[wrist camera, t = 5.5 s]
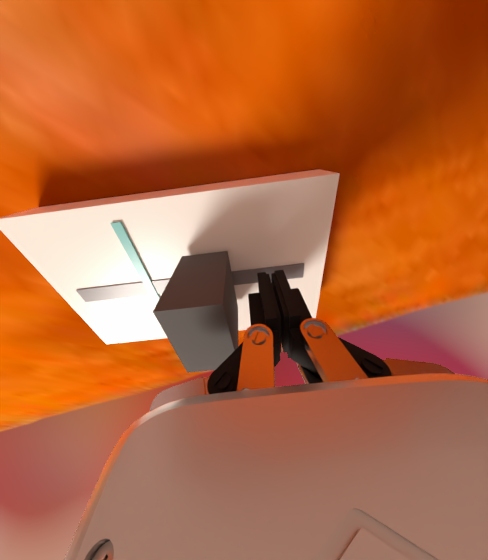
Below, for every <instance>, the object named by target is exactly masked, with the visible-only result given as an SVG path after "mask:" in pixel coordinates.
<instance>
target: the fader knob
mask: <svg viewBox="0 0 488 560" xmlns="http://www.w3.org/2000/svg"><path fill="white" fill-rule="evenodd" d="M153 313H154V315H155V317H156V318H157V320H158V322H159V324H160V325H161V327H162V329H163V331H164V332H165V334H166V336H167V338H168V339H169V341H170V343H171V344H172V346H173V348H174V350H175V351H176V353H177V355H178V357H179V358H180V360H181V362H182V364H183V365H184V367H185V369H186V370H187V372H198V371H208V370H216V369H217V368H218V367H219V366H220V365H221V364H222V363H223V362H224V361H225V360H226V359H227V358H228V357H229V356H230V355H231V354H232V353H233V352H234V351H235V350H236V349H237V348H238V304H237V299H236V293H235V288H234V283H233V277H232V272H231V266H230V261H229V256H228V251H222V252H213V253H205V254H197V255H189V256H182V257H181V259H180V261H179V263H178V265H177V267H176V268H175V270H174V272H173V274H172V276H171V278H170V280H169V282H168V284H167V286H166V288H165V289H164V291H163V293H162V295H161V297H160V299H159V301H158V303H157V305H156V307H155V308H154V310H153Z"/></svg>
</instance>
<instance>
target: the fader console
mask: <svg viewBox="0 0 488 560" xmlns="http://www.w3.org/2000/svg"><path fill="white" fill-rule="evenodd" d="M339 175H340V173H336V172H331V171H326V170H321V169H316V170H309V171H302V172H294V173H287V174H279V175H272V176H265V177H257V178H250V179H243V180H235V181H228V182H220V183H213V184H206V185H198V186H191V187H184V188H176V189H169V190H162V191H154V192H147V193H139V194H132V195H125V196H117V197H110V198H103V199H95V200H88V201H80V202H73V203H66V204H58V205H51V206H44V207H37V208H33V209H30V210H26V211H22V212H19V213H15V214H12V215H8V216H4V217H1V218H0V230H1V231H2V232H3V233H4V234H5V235H6V236H7V237H8V239H9V240H10V241H11V242H12V243H13V244H14V245H15V246H16V247H17V248H18V249H19V250H20V252H21V253H22V254H23V255H24V256H25V257H26V258H27V259H28V260H29V261H30V262H31V263H32V265H33V266H34V267H35V268H36V269H37V270H38V271H39V272H40V273H41V274H42V275H43V276H44V278H45V279H46V280H47V281H48V282H49V283H50V284H51V285H52V286H53V287H54V288H55V289H56V291H57V292H58V293H59V294H60V295H61V296H62V297H63V298H64V299H65V300H66V301H67V302H68V303H69V305H70V306H71V307H72V308H73V309H74V310H75V311H76V312H77V313H78V314H79V315H80V316H81V318H82V319H83V320H84V321H85V322H86V323H87V324H88V325H89V326H90V327H91V328H92V329H93V331H94V332H95V333H96V334H97V335H98V336H99V337H100V338H101V339H102V340H103V341H104V342H105V344H114V343H124V342H133V341H143V340H153V339H162V338H167V336H166V334H165V332H164V331H163V329H162V327H161V325H160V324H159V322H158V320H157V318H156V317H155V315H154V313H153V310H154V308H155V307H156V305H157V303H158V301H159V299H160V297H161V295H162V293H163V291H164V289H165V288H166V286H167V284H168V282H169V280H170V278H171V276H172V274H173V272H174V270H175V268H176V267H177V265H178V263H179V261H180V259H181V257H182V256H189V255H197V254H205V253H213V252H222V251H228V256H229V261H230V266H231V272H232V277H233V283H234V288H235V293H236V299H237V304H238V331H239V330H247V328H249V327H250V326H251V322H250V311H249V299H248V294H250V293H259V288H258V277H257V273H259V272H266V274H269V275H270V279H271V273H274V271H276V270H283V271H284V273H285V275H286V278H287V280H288V283H289V285H290V288H291V289H293V288H298V289H299V290H300V292H301V295H302V297H303V299H304V301H305V303H306V305H307V307H308V310H309V312H310V314H311V316H312V318H316V312H317V306H318V300H319V294H320V288H321V282H322V276H323V270H324V264H325V259H326V253H327V247H328V241H329V235H330V229H331V223H332V217H333V211H334V205H335V199H336V193H337V187H338V181H339ZM271 282H272V280H271Z"/></svg>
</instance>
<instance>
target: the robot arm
mask: <svg viewBox="0 0 488 560" xmlns="http://www.w3.org/2000/svg"><path fill="white" fill-rule="evenodd" d="M257 277H258V288H259V293H250V294H248V299H249V311H250V322H251V326H250V327H249V328H247V330H246V331H245V334H244V340H243V343H242V344H241V345H240V346H239V347H238V348H237V349H236V350H235V351H234V352H233V353H232V354H231V355H230V356H229V357H228V358H227V359H226V360H225V361H224V362H223V363H222V364H221V365H220V366H219V367H218V368H217V369H216V370H215V371H214V372H213V373H212V374H211V376H209V377H207V378H204V377H200V378H198V379H195V380H192V381H189V382H186V383H183V384H180V385H177V386H174V387H171V388H169V389H166V390H164V391H162V392H160V393H159V394H158V395H157V396H156V397H155V398H154V400H153V402H152V404H151V407H150V412H148V413H147V414H145V415H143V416H142V417H141V418H139V419H138V420H136V421H135V422H134V423H133V424H132V425H131V426H129V427H128V429H127V430H126V431H125V432H124V434H123V435H122V436H121V437H120V439H119V440H118V442H117V444H116V445H115V447H114V449H113V451H112V453H111V455H110V456H109V458H108V460H107V462H106V465H105V467H104V469H103V471H102V473H101V475H100V477H99V479H98V481H97V484H96V486H95V488H94V490H93V493H92V495H91V497H90V500H89V502H88V504H87V506H86V509H85V511H84V514H83V516H82V518H81V521H80V523H79V525H78V527H77V530H76V532H75V535H74V537H73V539H72V542H71V544H70V547H69V549H68V552H67V554H66V557H65V559H64V560H488V379H483V378H479V377H474V376H468V375H459V374H455V373H453V372H452V371H450V370H449V369H448V368H446V367H443V366H441V365H438V364H434V363H426V362H417V361H408V360H398V359H389V358H386V360H382V359H380V358H378V357H377V356H375V355H373V354H371V353H369V352H367V351H365V350H363V349H361V348H359V347H357V346H355V345H353V344H351V343H349V342H347V341H345V340H343V339H341V338H339V337H337V336H336V334H335V333H334V332H333V330H332V329H331V328H330V326H329V325H328V324H327V323H326V322H324V321H323V320H320V319H317V318H312V316H311V314H310V312H309V310H308V307H307V305H306V303H305V301H304V299H303V297H302V295H301V292H300V290H299V289H298V288H293V289H291V288H290V285H289V283H288V280H287V278H286V275H285V273H284V271H283V270H276V271H274V273H271V279H270V275H269V274H266V272H259V273H257ZM271 280H272V282H271ZM281 343H282V348H283V351H284V352H287V354H288V358H291V359H292V360H294V361H295V362H297V365H298V368H299V370H300V372H301V374H302V377H303V379H304V381H305V384H303V385H293V386H283V387H275V377H274V367H275V366H276V365H277V363H278V362H279V361H280V353H281Z"/></svg>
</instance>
